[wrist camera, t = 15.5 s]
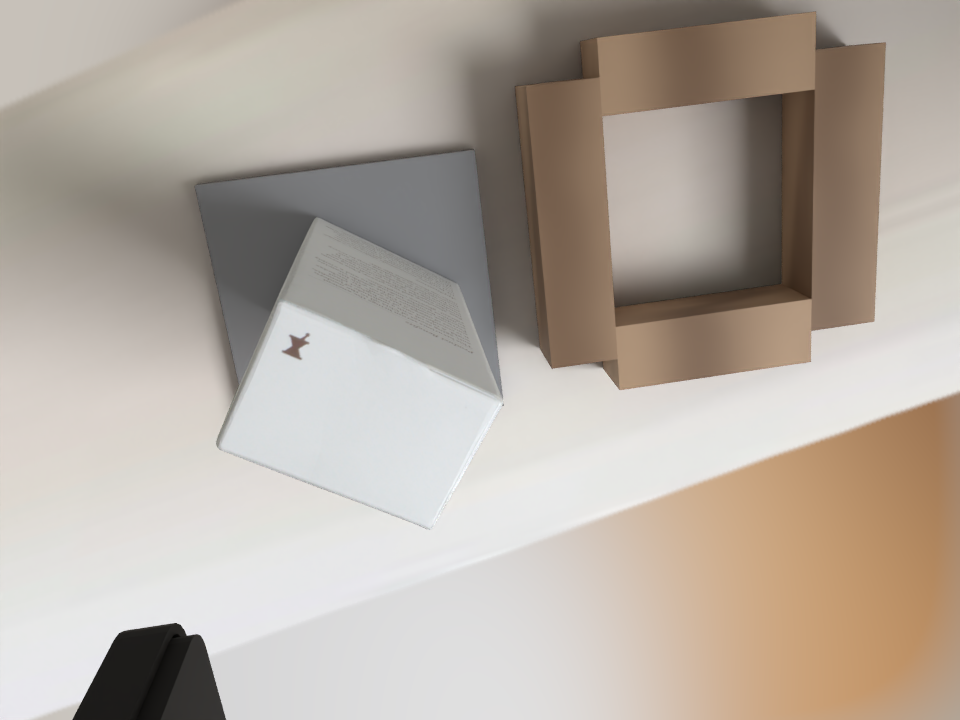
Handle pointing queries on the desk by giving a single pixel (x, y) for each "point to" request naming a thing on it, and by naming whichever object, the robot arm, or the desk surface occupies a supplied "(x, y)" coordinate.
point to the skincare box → (365, 380)
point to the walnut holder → (805, 198)
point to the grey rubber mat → (359, 210)
